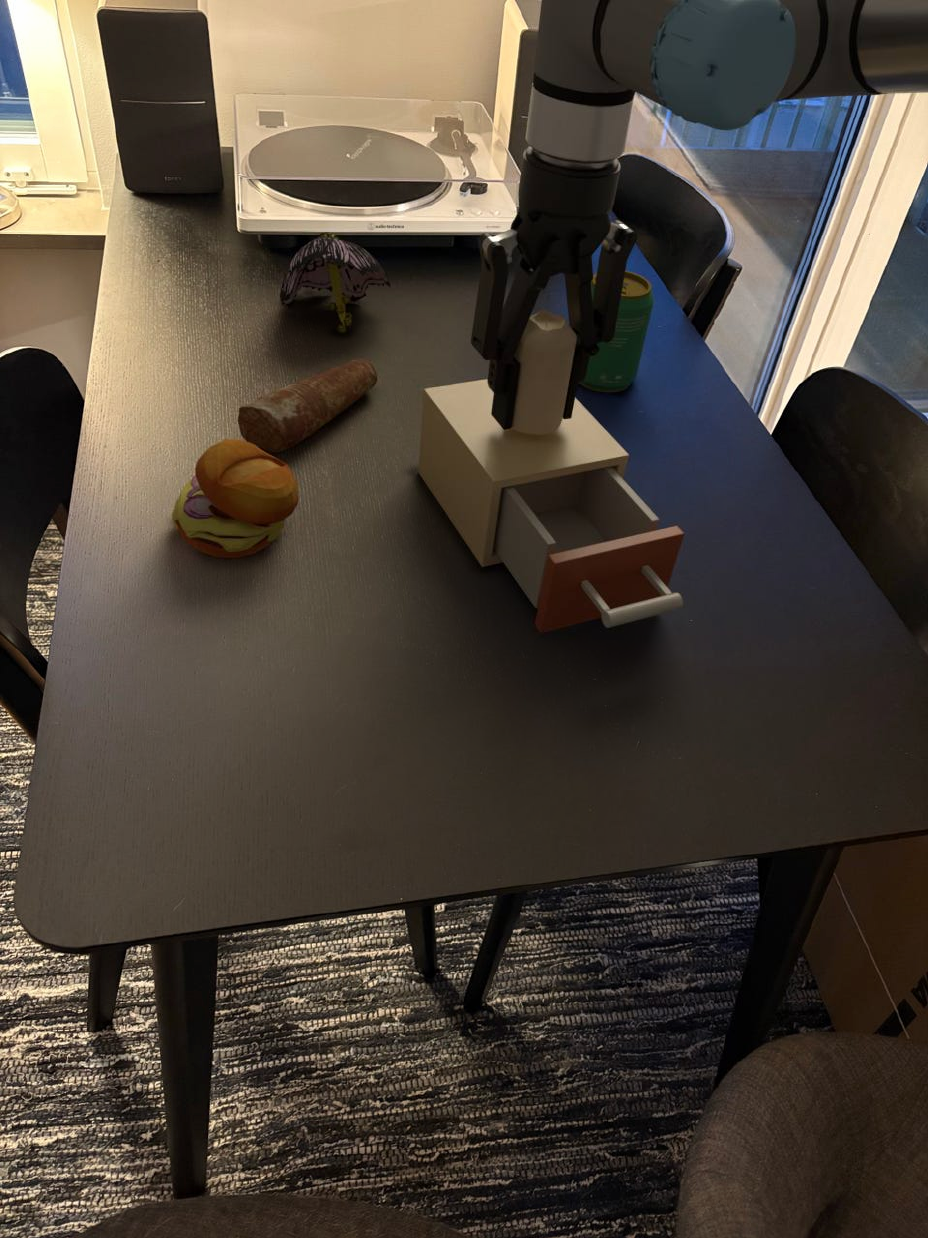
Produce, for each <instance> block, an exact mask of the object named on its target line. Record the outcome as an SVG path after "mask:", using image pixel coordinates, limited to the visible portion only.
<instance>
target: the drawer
mask: <svg viewBox="0 0 928 1238" xmlns="http://www.w3.org/2000/svg"><path fill="white" fill-rule="evenodd" d="M659 522H660V518H659V517H658V516H657V515H656V514H655V513H654V512H653V510H652V509H651V508H650V507H649V506H648V505H647V504H646V503H645V502H644V501H643V499H642V498H641V497H640V496H639V495H638V494H637V493H636V492H635V491H634V489H632V488H631V486H630V485H629V484H628V483H627V482H626V481H625V480H624V478H623V479H622V478H621V476H620V475H619V474H618V473H617V472H616V471H615V470H614V469H613V468H612V466H610V467H605V468H600V469H594V470H589V471H584V472H579V473H574V474H569V475H564V476H559V477H554V478H549V479H544V480H539V481H534V482H529V483H523V484H518V485H513V486H508V487H503V488H501V495H500V502H499V509H498V516H497V523H496V530H495V537H494V544H493V548H494V550H495V551H496V552H497V554H498V555H499V557H500V558H501V560H502V561H503V562H502V563H503V564H504V566H505V567H506V568H507V570H508V571H509V573H510V574H511V576H512V577H513V578H514V580H515V581H516V582H517V584H518V586H519V587H520V588H521V590H522V591H523V593H524V594H525V596H526V597H527V598H528V600H529V601H530V603H531V604H532V605H533V607H534V608H535V609H536V610H537V612H536V615H535V616H536V617H535V621H534V625H535V627H536V628H537V630H538V631H539V633H540V634H543V633H544V634H545V633H548V632H551V631H555V630H559V629H563V628H566V627H570V626H574V625H578V624H582V623H585V622H589V621H593V620H597V619H601V621H602V624H603V625H604V627H605V628H606V629H607V628H608V629H610V628H614V627H617V626H621V625H625V624H628V623H633V622H637V621H641V620H644V619H648V618H651V617H655V616H658V615H663V614H666V613H670V612H673V611H677V610H681V609H682V608H683V604H684V600H683V597H682V596H681V593H679V592H672V591H671V590H670V588H668V587H669V584H670V581H671V578H672V575H673V572H674V569H675V565H676V562H677V559H678V556H679V553H680V549H681V547H682V543H683V540H684V536H685V532H684V531H683V530H682V529H681V528H680V527H679V526H678V525H674V526H669V527H665V528H661V529H658V526H659Z"/></svg>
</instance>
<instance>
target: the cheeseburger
mask: <svg viewBox="0 0 928 1238" xmlns="http://www.w3.org/2000/svg"><path fill="white" fill-rule="evenodd" d="M194 471H195V474H194V476H193V477H192V478H191V479H190V480H189V481H188V482H187V483H186V484H185V485H184V486H183V488H182V489H181V491H180V493H179V496H178V497H177V498H176V500H175V502H174V503H175V504H174V507H173V509H172V513H171V517H172V518H171V519H172V523H173V524H174V526H175V528H176V530H177V531H178V532H179V535H180V536H181V537H182V540H184V542H186V543H187V544H189V545H190V546H191V547H193V548H194V549H196V550H197V551H200V552H202V553H204V554H207V555H210V556H211V557H215V558H225V559H239V558H243V557H246V556H249V555H253V554H256V553H258V552H259V551H262V549H265V548H266V547H267V546H269V545H270V544H271V542H272V541H274V540H276V538H278V536H279V534H281V532H282V530H283V529H284V526H285V521H286V519H287V518H289V517H290V516H291V515H293V513H294V511H295V510H296V508H297V507H298V504H299V487H298V482H297V479H296V478H295V476H294V474H293V472H292V470H291V468H290V466H289V465H288V464H287V463H285V462H283V460H281V459H279V458H278V457H276V456H273V455H271V454H269V453H268V452H267V451H264V449H262V448H261V447H259V446H257V445H254V444H252V443H250V442H247V441H246V440H243V439H237V438H225V439H223V440H221V441H219V442H217V443H214V444H212V445H211V446H210V447H208V448H207V449H206V450H205V451H204V452H203V453H202V454H201V455H200V457H199V458H198V459H197V461H196V464H195V468H194Z"/></svg>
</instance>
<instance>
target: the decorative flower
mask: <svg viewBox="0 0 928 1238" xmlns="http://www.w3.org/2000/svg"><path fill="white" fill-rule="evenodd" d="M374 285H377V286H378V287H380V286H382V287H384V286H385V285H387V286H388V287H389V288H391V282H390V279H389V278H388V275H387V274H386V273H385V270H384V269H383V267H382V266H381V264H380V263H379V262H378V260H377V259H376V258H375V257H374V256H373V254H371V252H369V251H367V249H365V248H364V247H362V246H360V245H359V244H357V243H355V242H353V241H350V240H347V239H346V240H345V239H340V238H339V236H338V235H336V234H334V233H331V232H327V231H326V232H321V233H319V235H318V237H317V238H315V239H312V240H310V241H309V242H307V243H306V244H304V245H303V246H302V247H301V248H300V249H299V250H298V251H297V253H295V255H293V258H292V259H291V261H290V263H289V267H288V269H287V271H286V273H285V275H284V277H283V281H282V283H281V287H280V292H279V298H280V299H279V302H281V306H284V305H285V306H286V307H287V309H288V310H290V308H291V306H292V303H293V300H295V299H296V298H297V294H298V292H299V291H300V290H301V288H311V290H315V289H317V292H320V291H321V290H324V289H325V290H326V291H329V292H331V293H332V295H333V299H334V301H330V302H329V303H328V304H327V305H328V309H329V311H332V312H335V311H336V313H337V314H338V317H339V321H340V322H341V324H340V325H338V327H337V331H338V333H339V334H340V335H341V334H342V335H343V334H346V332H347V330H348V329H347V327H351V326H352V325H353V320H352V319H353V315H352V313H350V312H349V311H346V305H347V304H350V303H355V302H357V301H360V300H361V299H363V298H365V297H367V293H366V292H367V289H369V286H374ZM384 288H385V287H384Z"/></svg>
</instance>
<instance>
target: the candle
mask: <svg viewBox="0 0 928 1238" xmlns="http://www.w3.org/2000/svg"><path fill="white" fill-rule="evenodd" d="M576 340H577V336H576V334H575V332H574V331H573V329H572V328H571V327H570V326H569V322H568V321H567V320H566V319H565V318H564V317H563V315H561V314H553V313H551V311H549V310H546V309H542V310H540V311H539V312H537V313H535V314H531V316H530V318H529V321H528V323H527V325H526V328H525V330H524V333H523V335H522V338H521V340H520V343H519V345H518V348H517V350H516V353H515V355H514V357H515V358H516V359H517V361H518V362H519V363H520V371H519V378H518V385H517V392H516V399H515V406H514V413H513V420H512V427H511V428H513V429H515V430H517V431H519V432H522V433H526V434H532V435H542V434H548V433H551V432H554V431H555V430H557V429H558V428H559V427H560V425H561V422H562V418H563V413H564V407H565V402H566V396H567V391H568V385H569V379H570V374H571V368H572V362H573V357H574V351H575V345H576Z"/></svg>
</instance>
